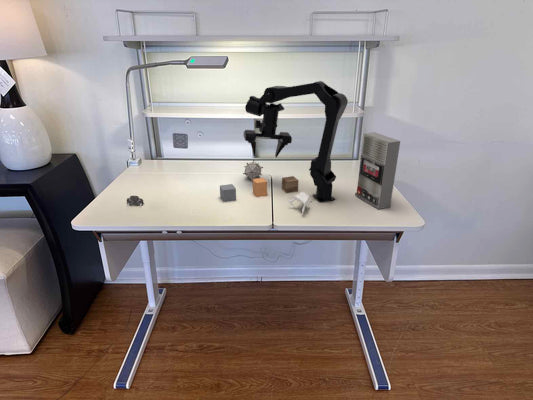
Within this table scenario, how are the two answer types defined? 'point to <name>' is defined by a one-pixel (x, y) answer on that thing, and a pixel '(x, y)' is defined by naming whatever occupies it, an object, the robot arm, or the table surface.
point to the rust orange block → (259, 187)
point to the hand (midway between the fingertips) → (265, 156)
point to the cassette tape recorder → (377, 169)
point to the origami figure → (301, 200)
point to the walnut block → (290, 184)
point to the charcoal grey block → (227, 193)
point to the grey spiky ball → (252, 170)
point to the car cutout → (135, 201)
